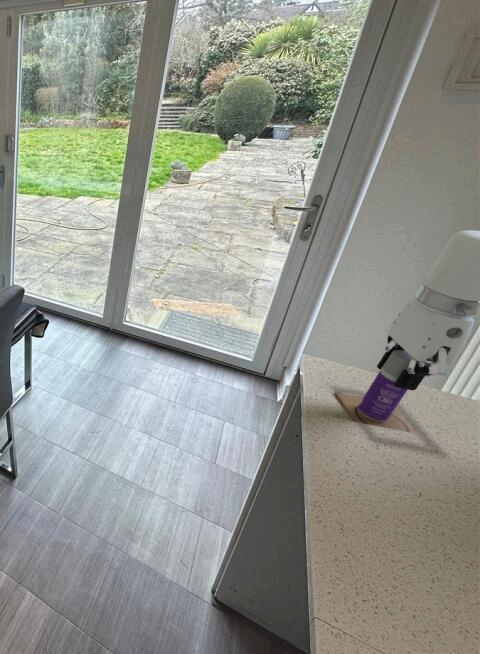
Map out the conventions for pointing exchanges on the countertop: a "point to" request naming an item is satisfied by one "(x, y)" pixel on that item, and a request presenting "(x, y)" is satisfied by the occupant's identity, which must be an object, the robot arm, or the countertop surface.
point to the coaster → (392, 423)
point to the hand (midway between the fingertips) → (395, 377)
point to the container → (385, 388)
